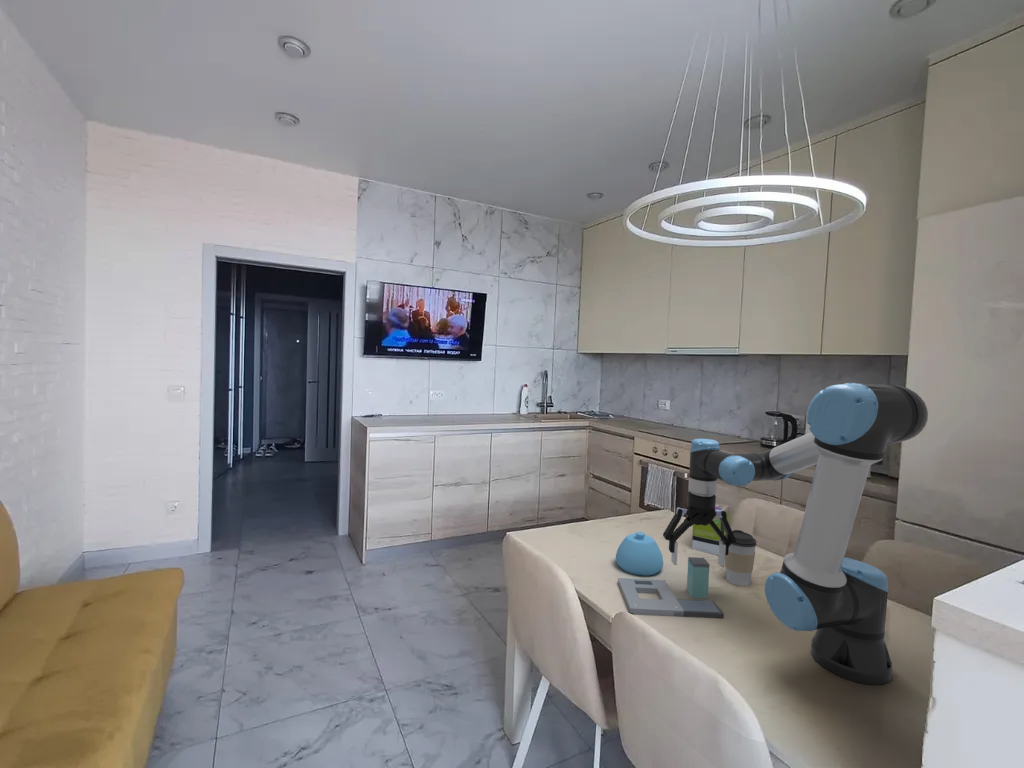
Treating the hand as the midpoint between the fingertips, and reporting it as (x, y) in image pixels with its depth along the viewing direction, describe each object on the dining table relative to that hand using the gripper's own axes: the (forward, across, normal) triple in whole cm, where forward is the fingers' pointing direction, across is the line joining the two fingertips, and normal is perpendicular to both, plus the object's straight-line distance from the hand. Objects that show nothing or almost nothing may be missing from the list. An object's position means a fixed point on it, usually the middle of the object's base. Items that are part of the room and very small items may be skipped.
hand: (697, 564), depth 140 cm
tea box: (+10, -18, -37) cm, 43 cm away
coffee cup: (+9, -16, -9) cm, 21 cm away
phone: (+8, +4, +10) cm, 14 cm away
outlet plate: (+9, +15, +5) cm, 18 cm away
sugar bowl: (+9, +13, -16) cm, 23 cm away
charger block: (+9, 0, +1) cm, 9 cm away
